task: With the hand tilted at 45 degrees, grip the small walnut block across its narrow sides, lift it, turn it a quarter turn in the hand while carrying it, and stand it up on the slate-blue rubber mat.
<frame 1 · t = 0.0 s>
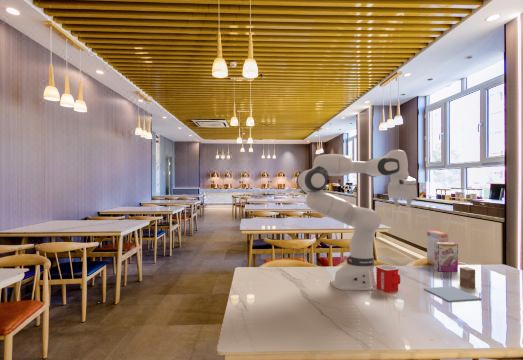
hand: (402, 207, 161), 39 cm above the table, tool pointing down, fingers open, 8 cm apart
mug: (390, 291, 148), on the table
walnut block: (467, 286, 153), on the table
candy bar box: (446, 271, 180), on the table
rubber mat: (451, 294, 143), on the table
cracker box: (437, 265, 193), on the table
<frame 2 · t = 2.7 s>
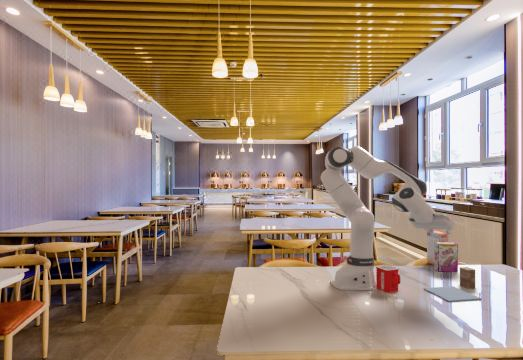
hand: (440, 232, 154), 27 cm above the table, tool tilted 45°, fingers open, 8 cm apart
nothing on the table moved.
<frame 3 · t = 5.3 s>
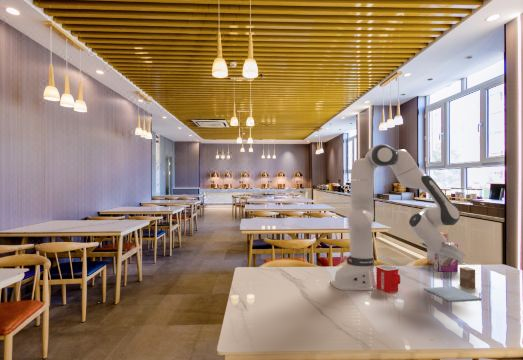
hand: (454, 260, 152), 13 cm above the table, tool tilted 45°, fingers open, 8 cm apart
nothing on the table moved.
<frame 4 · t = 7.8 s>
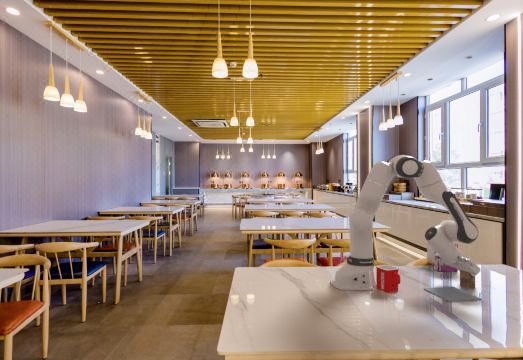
hand: (468, 273, 153), 6 cm above the table, tool tilted 45°, fingers closed on walnut block, 5 cm apart
walnut block: (467, 286, 153), on the table, touching gripper
everything else where it was.
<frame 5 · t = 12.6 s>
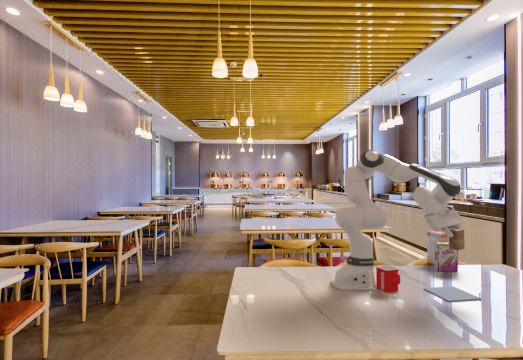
hand: (457, 235, 144), 27 cm above the table, tool tilted 45°, fingers closed on walnut block, 5 cm apart
walnut block: (456, 248, 145), point 21 cm above the table, touching gripper
everything else where it was.
when the fingers open (8 cm above the table, at t = 17.5 s): walnut block drops 1 cm, resting on rubber mat.
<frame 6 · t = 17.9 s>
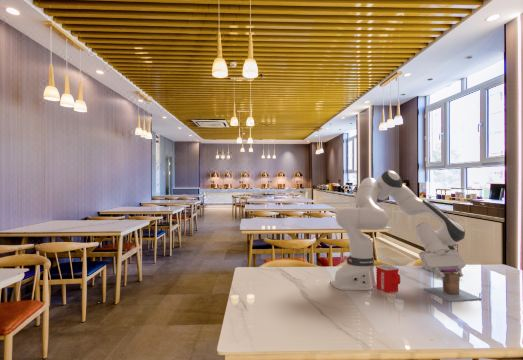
hand: (452, 277, 142), 8 cm above the table, tool tilted 45°, fingers open, 8 cm apart
walnut block: (451, 293, 143), point 1 cm above the table, touching rubber mat
everything else where it was.
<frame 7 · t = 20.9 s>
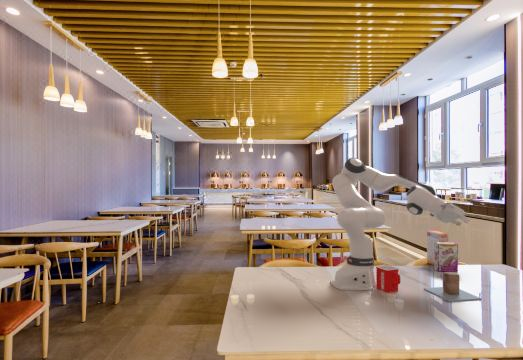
hand: (464, 223, 156), 31 cm above the table, tool tilted 55°, fingers open, 8 cm apart
nothing on the table moved.
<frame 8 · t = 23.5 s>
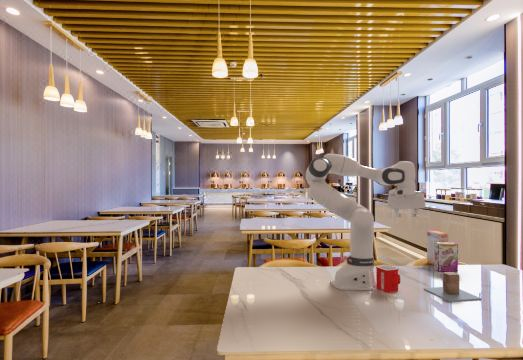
hand: (406, 217, 166), 33 cm above the table, tool pointing down, fingers open, 8 cm apart
nothing on the table moved.
at the end: walnut block inside the target area on the rubber mat (0.0 cm from its centre), point 0.6 cm above the rubber mat's base; walnut block tilted 0°; the gripper is holding nothing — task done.
